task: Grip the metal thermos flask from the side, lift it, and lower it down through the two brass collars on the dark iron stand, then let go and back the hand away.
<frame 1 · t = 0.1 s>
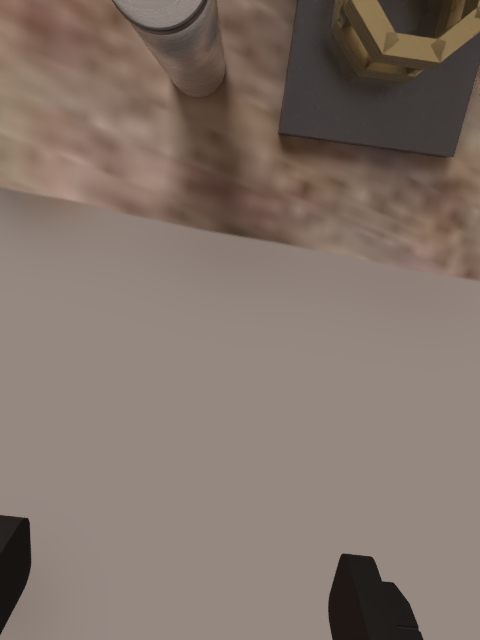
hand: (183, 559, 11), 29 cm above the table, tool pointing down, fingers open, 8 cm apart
metal thermos flask: (197, 66, 33), on the table
collar stand: (388, 17, 32), on the table
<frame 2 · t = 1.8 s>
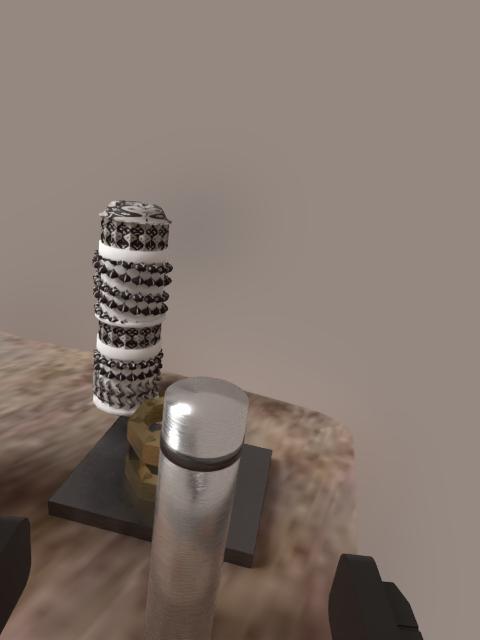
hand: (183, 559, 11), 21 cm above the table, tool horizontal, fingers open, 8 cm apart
decorative candle: (126, 399, 56), on the table
collar stand: (173, 484, 42), on the table
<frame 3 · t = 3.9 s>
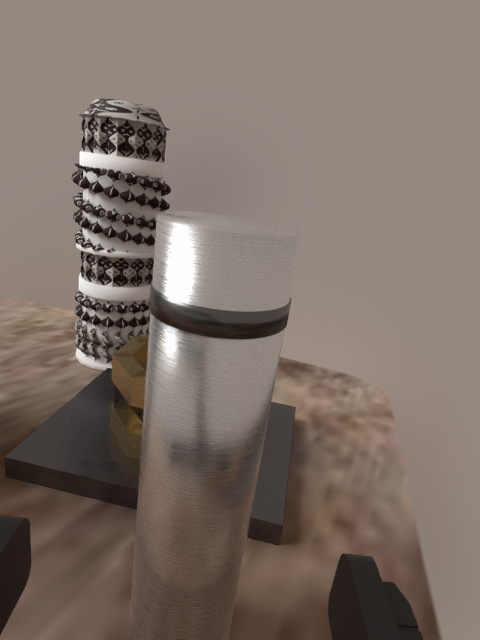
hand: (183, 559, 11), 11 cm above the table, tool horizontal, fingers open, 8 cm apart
decorative candle: (116, 356, 46), on the table
collar stand: (172, 444, 33), on the table
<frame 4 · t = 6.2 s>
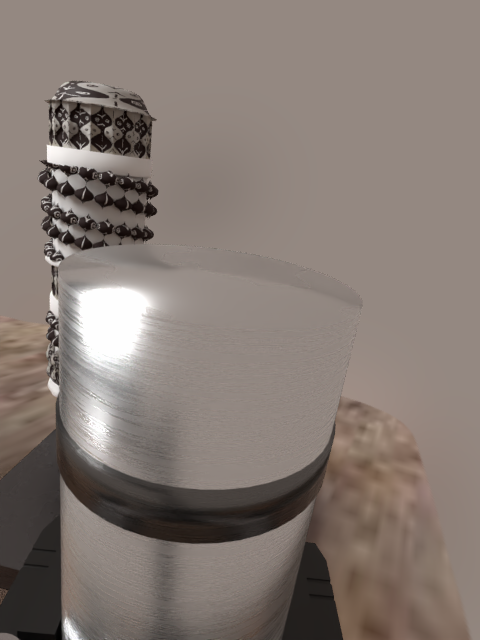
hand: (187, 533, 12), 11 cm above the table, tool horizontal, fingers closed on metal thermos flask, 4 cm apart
decorative candle: (96, 384, 40), on the table
collar stand: (156, 509, 26), on the table
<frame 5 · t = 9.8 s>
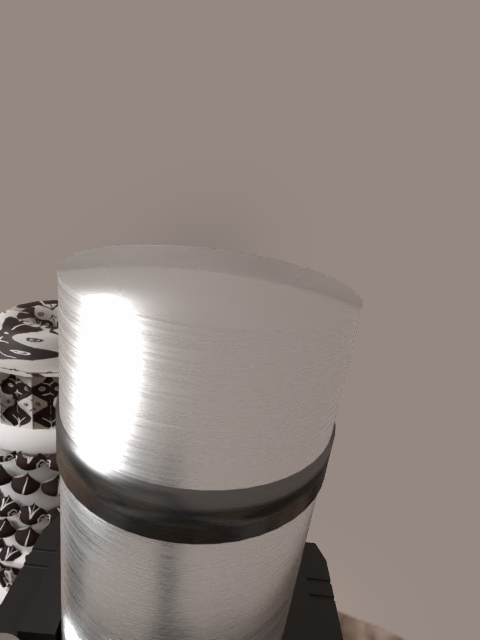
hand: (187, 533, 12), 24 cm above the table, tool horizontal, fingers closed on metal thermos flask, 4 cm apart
decorative candle: (59, 639, 31), on the table
when the fingers open (14 cm above the table, at t = 13.2 s): metal thermos flask drops 1 cm, resting on collar stand.
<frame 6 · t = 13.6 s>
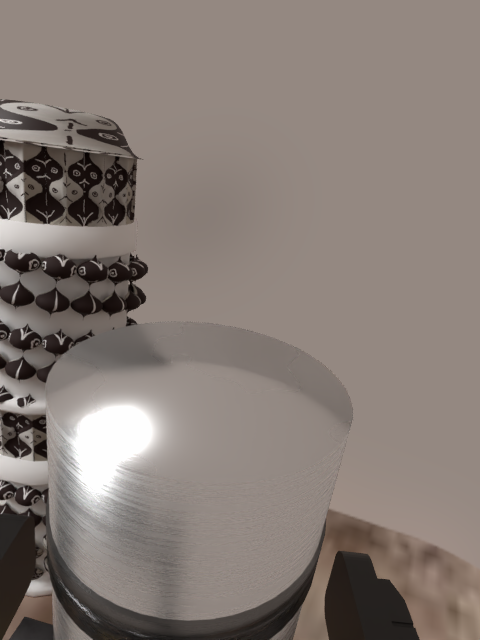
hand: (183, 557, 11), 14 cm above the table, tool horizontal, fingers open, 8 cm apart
decorative candle: (58, 537, 27), on the table
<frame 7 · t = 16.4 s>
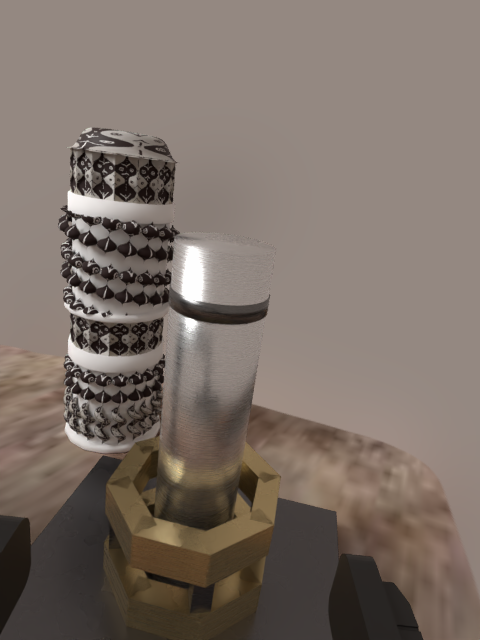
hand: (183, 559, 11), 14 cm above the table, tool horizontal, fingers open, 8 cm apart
metal thermos flask: (188, 562, 25), point 2 cm above the table, touching collar stand
decorative candle: (113, 426, 39), on the table
collar stand: (185, 580, 25), on the table
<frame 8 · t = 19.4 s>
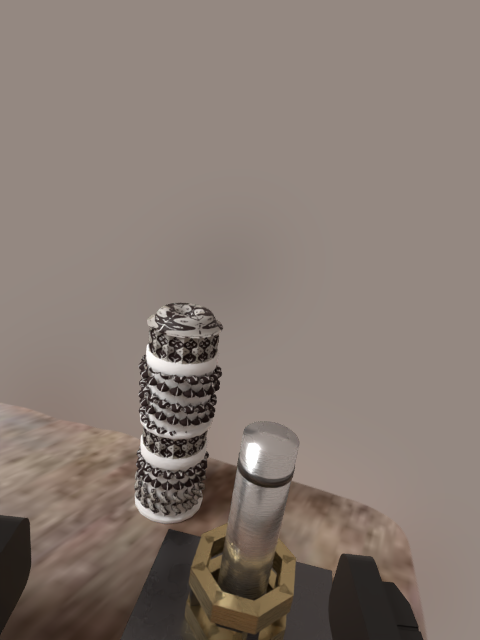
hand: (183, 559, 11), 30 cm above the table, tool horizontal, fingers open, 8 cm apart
metal thermos flask: (236, 611, 39), point 2 cm above the table, touching collar stand
decorative candle: (168, 498, 53), on the table
collar stand: (234, 622, 39), on the table
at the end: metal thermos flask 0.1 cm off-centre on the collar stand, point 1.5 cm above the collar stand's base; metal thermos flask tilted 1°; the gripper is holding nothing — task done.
